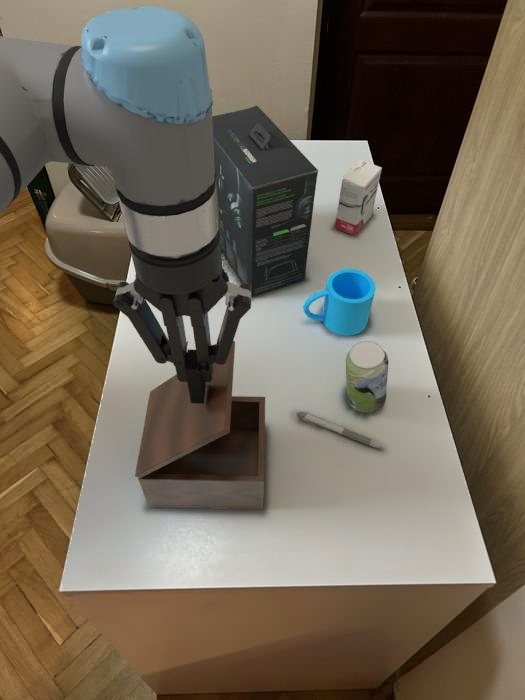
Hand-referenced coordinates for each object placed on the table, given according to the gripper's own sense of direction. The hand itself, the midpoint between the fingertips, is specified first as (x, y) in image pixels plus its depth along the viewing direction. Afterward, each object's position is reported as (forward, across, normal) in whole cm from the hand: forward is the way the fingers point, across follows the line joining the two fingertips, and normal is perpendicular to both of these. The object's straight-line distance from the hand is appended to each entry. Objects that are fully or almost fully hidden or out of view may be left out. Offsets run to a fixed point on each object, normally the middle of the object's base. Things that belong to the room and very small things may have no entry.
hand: (198, 393), depth 62 cm
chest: (+19, 0, 0) cm, 19 cm away
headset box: (+19, -5, -46) cm, 50 cm away
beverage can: (+19, -23, -12) cm, 32 cm away
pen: (+19, -19, -6) cm, 28 cm away
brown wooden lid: (+4, +2, 0) cm, 4 cm away
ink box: (+19, -26, -57) cm, 65 cm away
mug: (+19, -20, -29) cm, 40 cm away
